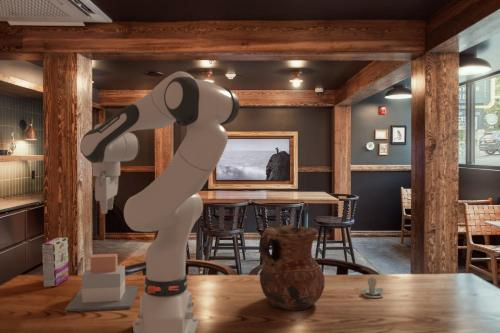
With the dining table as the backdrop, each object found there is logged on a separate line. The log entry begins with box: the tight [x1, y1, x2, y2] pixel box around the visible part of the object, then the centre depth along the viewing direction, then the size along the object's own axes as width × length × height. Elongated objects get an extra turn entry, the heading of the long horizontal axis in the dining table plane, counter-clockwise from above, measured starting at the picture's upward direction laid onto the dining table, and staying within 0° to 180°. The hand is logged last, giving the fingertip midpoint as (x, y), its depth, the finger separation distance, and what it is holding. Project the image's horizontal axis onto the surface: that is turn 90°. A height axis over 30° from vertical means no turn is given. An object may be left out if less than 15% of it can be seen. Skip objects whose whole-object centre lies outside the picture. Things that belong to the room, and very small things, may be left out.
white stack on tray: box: [64, 264, 140, 312], centre depth 138 cm, size 20×20×10 cm
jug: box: [258, 224, 326, 312], centre depth 134 cm, size 22×21×25 cm
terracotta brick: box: [89, 253, 119, 272], centre depth 138 cm, size 4×8×5 cm, turn 98°
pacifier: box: [360, 276, 384, 299], centre depth 142 cm, size 7×6×6 cm
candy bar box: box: [41, 237, 70, 286], centre depth 156 cm, size 11×5×16 cm, turn 179°
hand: (107, 211), depth 139 cm, fingers open, 8 cm apart
